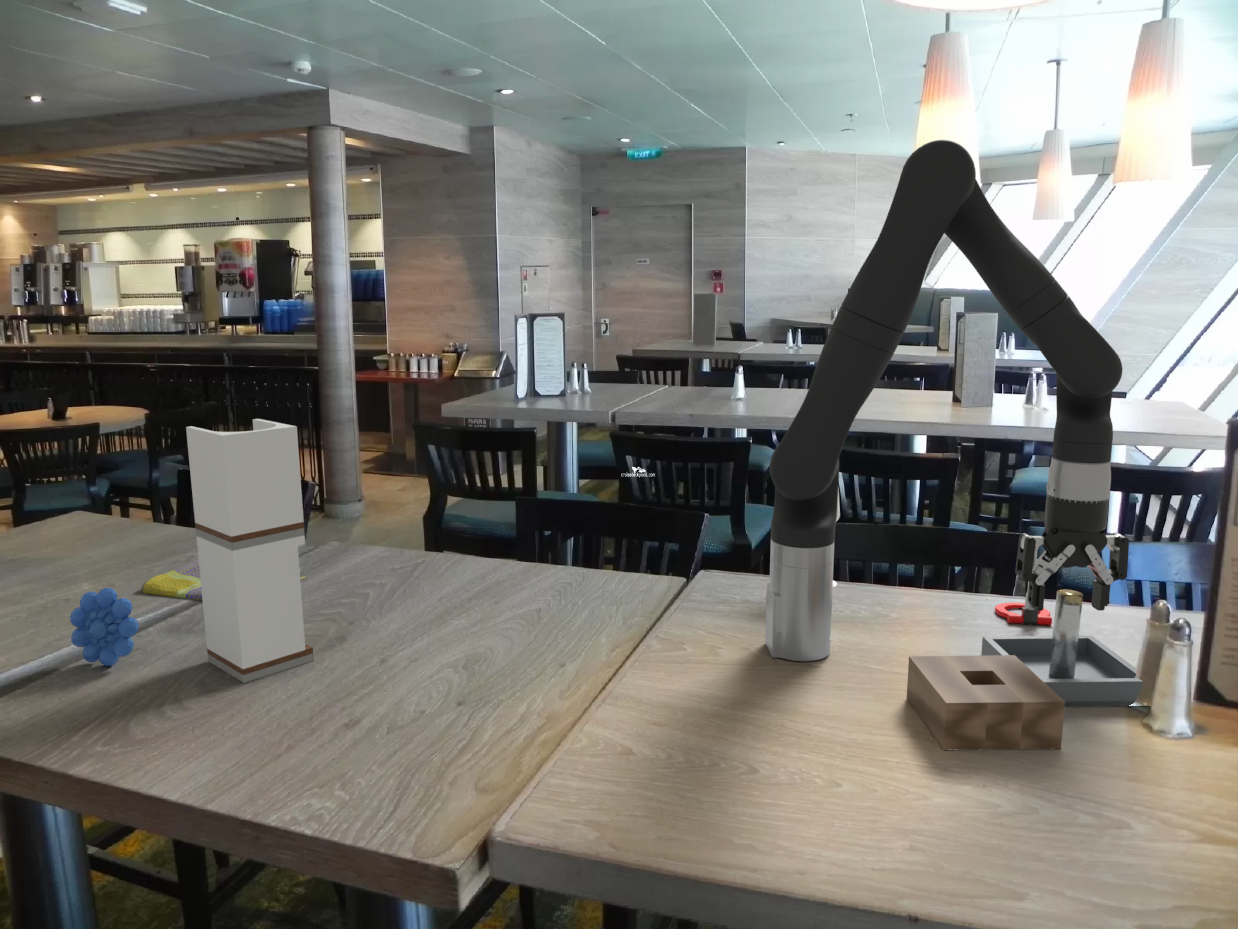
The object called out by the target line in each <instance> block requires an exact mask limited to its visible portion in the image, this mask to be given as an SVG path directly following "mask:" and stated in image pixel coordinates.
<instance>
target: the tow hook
mask: <svg viewBox="0 0 1238 929" xmlns="http://www.w3.org/2000/svg"><path fill="white" fill-rule="evenodd" d="M1037 556H1038V551H1036V552H1035V554H1034V562H1033V568H1034V566H1035V565H1036V564H1037V560H1038V558H1037ZM1028 589H1029V581H1027V590H1026V592H1025V602H1024V603H1023V602H1001V603H998V604H996V605H995V608H994V612H995V613H996V614H997V615H998V616H1000V617H1002V618H1006V621H1007V623H1008V624H1019V623H1023V624H1022V625H1027V624H1033V625H1032V626H1037V625H1038V624H1040V625H1041V626H1042V625H1043V626H1052V624H1053V618H1052V616H1051V612H1050V611H1049V610H1048V609H1047V608H1044V607H1043V610H1042V611H1036V610H1035V609H1034V608H1032V606H1031V605H1030V604H1029V602H1028ZM1013 608H1022V609H1021V614H1020V613H1016V612H1011V611H1010V610H1014V609H1013ZM1007 609H1009V610H1007ZM1038 613H1039V614H1038Z"/></svg>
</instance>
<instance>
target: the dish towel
mask: <svg viewBox="0 0 1238 929" xmlns="http://www.w3.org/2000/svg"><path fill="white" fill-rule="evenodd" d="M302 573H303V570H302V568H300V582H301V581H304V580H306V579H307V577H306V576H305V575H302ZM141 591H142V592H143V594H146V595H147V594H149V595H150V594H151V595H154V596H159V597H160V596H162V597H168V598H176V599H183V600H185V599H186V600H195V601H202V590H201V580H200V569H199V559H198V558H197V559H195V560H193V561H190V562H188V563H184V564H182V565H180V566H178V567H176V568H174V569H171V570H170V571H168V572H164V573H161V574H157V575H156V576H153V577H151V578H149V579H148V580H146V581H144V583H143V584H142V586H141Z"/></svg>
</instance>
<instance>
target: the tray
mask: <svg viewBox="0 0 1238 929" xmlns="http://www.w3.org/2000/svg"><path fill="white" fill-rule="evenodd" d="M1052 637H1053V635H1027V636H1026V635H1020V636H1019V635H1015V636H1014V635H1013V636H1012V635H1011V636H1008V635H1005V636H1004V635H1002V636H994V635H993V636H982V638H981V639H982V640H981V652H980V654H981V655H980V656H989V655H1015V656H1016V657H1017V658H1018V659H1019V660H1020V661H1022V662H1023V663H1024V664H1025V665H1026V666H1027V667H1028V668H1029V669H1030V670H1031V671H1032V672H1033V673H1035V674H1036V675H1037V676H1038V677H1039V678H1040V679H1041V680H1042V681H1043V682H1044V683H1045V684H1046V685H1048V686H1049V687H1050V688H1051V689H1052V690H1053V691H1054V692H1055V693H1056V694H1057V695H1058V696H1059V697H1061V698H1062V699H1063V700H1064V701H1065V708H1110V707H1113V708H1115V707H1116V708H1117V707H1125V708H1126V707H1128V706H1129V705H1131V704H1133V703H1134V702H1135V700H1136V699H1137V697H1138V696H1139V693H1140V690H1141V689H1142V688H1141V687H1142V684H1143V681H1142V680H1140V679H1138V678H1135V676H1136V668H1137V667H1135V666H1134V665H1132V664H1131V663H1130V662H1128V661H1127V660H1125V658H1123V657H1122V656H1120V655H1119V654H1117V652H1115V651H1114V650H1113V649H1111V648H1109V647H1108V646H1107V645H1105V644H1104V643H1102V642H1101V641H1100V640H1098V639H1097V638H1096V637H1095V636H1093V635H1079V638H1078V647H1077V657H1076V666H1075V675H1074V679H1054V678H1052V677H1051V676H1049V667H1050V657H1051V647H1052ZM1137 695H1138V696H1137Z"/></svg>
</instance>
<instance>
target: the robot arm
mask: <svg viewBox="0 0 1238 929" xmlns="http://www.w3.org/2000/svg"><path fill="white" fill-rule="evenodd" d="M976 174H977V173H976V166H975V162H974V160H973V158H972V156H971V154H970V153H969V151H968V150H967V149H966V148H965V147H964V146H963V145H961V144H960V143H958V142H956V141H955V140H954V141H953V140H949V139H936V140H932V141H929V142H927V143H924V144H922V145H921V146H919V147H918V148H917V149H916V150H914V151H913V152H912V153H911V154H910V155H909V157H908V158H907V159H906V161H905V163H904V164H903V167H902V170H901V173H900V176H899V180H898V183H897V187H896V189H895V193H894V195H893V198H892V202H891V204H890V207H889V210H888V212H887V215H886V218H885V221H884V224H883V225H882V228H881V230H880V233H879V235H878V238H876V241H875V243H874V245H873V246H872V249H871V250H870V252H869V254H868V256H867V257H866V258H865V260H864V262H863V263H862V265H861V267H860V268H859V271H858V272H857V274H856V276H855V277H854V279H853V281H852V283H851V285H850V288H849V289H848V292H847V293H846V295H845V297H844V299H843V301H842V303H841V306H840V307H839V308H838V311H837V313H836V316H835V319H834V321H833V322H832V325H831V327H830V329H829V331H828V333H827V334H828V335H827V337H826V340H825V342H824V344H823V347H822V350H821V352H820V355H819V357H818V360H817V363H816V365H815V369H814V372H813V374H812V379H811V381H810V384H809V387H808V390H807V391H806V392H807V393H806V395H805V397H804V400H803V402H802V404H801V405H800V407H799V410H798V411H797V413H796V415H795V417H794V418H793V420H792V422H791V424H790V426H789V427H788V429H787V430H786V432H785V434H784V436H783V437H782V438H781V441H780V442H779V443H778V444H777V446H776V447H775V449H774V450H773V452H772V455H771V457H770V461H769V462H770V464H769V472H770V477H771V481H772V482H773V485H774V505H773V511H772V517H771V522H770V553H769V554H770V556H769V557H770V558H769V560H770V562H769V583H767V584H766V596H765V597H766V598H765V599H766V600H765V601H766V602H765V606H766V607H765V639H764V643H765V646H766V647H767V650H768V652H769V654H770V656H771V658H778V659H785V660H789V661H795V662H813V661H819V660H822V659H824V658H827V657H828V656H829V655H830V654H831V642H832V637H831V636H832V612H833V611H832V610H833V588H834V587H833V580H834V561H835V560H834V559H835V536H836V526H837V522H836V518H837V502H838V488H839V481H840V479H839V478H840V476H839V475H840V456H841V452H842V451H843V448H844V444H845V441H846V440H847V437H848V434H849V432H850V429H851V427H852V425H853V423H854V421H855V418H856V416H857V415H858V413H859V412H860V409H862V407H863V405H864V403H866V401H867V400H868V398H869V396H870V395H871V393H872V392H873V390H874V389H875V387H876V386H877V384H878V382H879V381H880V379H881V378H882V376H883V374H884V372H885V370H886V369H887V367H888V365H889V364H890V362H891V360H892V358H893V356H894V354H895V352H896V350H897V348H898V346H899V344H900V342H901V340H902V338H903V336H904V332H906V329H907V327H908V325H909V323H910V319H911V317H912V315H913V312H914V309H915V306H916V304H917V301H918V298H919V295H920V292H921V288H922V285H923V282H924V279H925V275H926V272H927V269H928V267H929V265H930V262H931V259H932V257H933V254H934V252H935V250H936V248H937V247H938V245H939V243H940V241H941V240H942V238H943V236H944V235H945V236H946V237H947V238H949V239H950V241H951V242H952V244H954V245H955V246H956V247H957V248H958V249H959V251H960V252H961V253H962V254H963V255H964V257H965V258H966V259H967V260H968V262H969V263H970V264H971V265H972V267H973V268H974V269H975V271H976V272H977V274H978V275H979V277H980V278H981V279H982V281H983V282H984V284H985V285H986V286H987V288H988V290H989V291H990V292H991V294H992V295H993V296H994V298H995V299H996V301H997V302H998V303H999V304H1000V305H1001V307H1002V309H1003V310H1004V312H1005V313H1006V314H1007V315H1008V317H1009V318H1010V319H1011V320H1012V321H1013V322H1014V324H1015V325H1016V326H1017V327H1018V329H1019V330H1020V331H1021V332H1022V333H1023V335H1024V336H1025V337H1026V338H1027V339H1028V340H1029V341H1030V342H1032V344H1033V345H1035V346H1036V347H1037V349H1039V351H1040V353H1041V354H1042V356H1043V357H1044V358H1045V360H1046V361H1047V363H1048V364H1049V365H1050V367H1051V369H1053V371H1054V372H1055V373H1056V383H1055V384H1056V387H1055V389H1056V393H1055V394H1056V397H1055V398H1056V399H1055V400H1056V420H1055V425H1054V431H1053V440H1052V441H1053V442H1052V453H1051V454H1052V455H1051V461H1050V466H1049V470H1048V476H1047V482H1046V497H1045V498H1046V499H1045V510H1044V531H1043V532H1042V534H1041V535H1029V534H1027V533H1026V532H1024V533H1021V534H1019V536H1018V544H1017V554H1016V563H1015V570H1014V574H1016V576H1018V577H1019V578H1021V579H1022V580H1024V581H1026V582H1028V581H1029V589H1028V588H1027V591H1028V602H1029V604H1030V605H1031V606H1032V608H1034V609H1035V610H1036V611H1042V610H1043V608H1044V602H1045V592H1046V591H1045V590H1046V585H1045V583H1046V581H1047V580H1048V579H1049V578H1050V576H1052V575H1054V574H1055V573H1057V571H1058V570H1059V569H1060V567H1062V568H1063V569H1067V568H1069V569H1070V568H1072V567H1073V568H1074V567H1077V568H1087V567H1088V569H1089V570H1091V572H1092V574H1093V575H1094V577H1095V578H1096V580H1095V579H1094V580H1093V583H1092V595H1091V606H1092V608H1093V609H1095V610H1096V611H1098V612H1099V611H1105V609H1106V607H1108V605H1109V603H1110V594H1111V585H1112V584H1113V583H1114V582H1116V581H1119V580H1120V581H1124V580H1126V579H1127V577H1128V566H1129V549H1130V539H1129V537H1127V536H1125V535H1122V534H1121V533H1118V532H1112V533H1111V535H1110V534H1108V535H1107V534H1106V531H1105V530H1106V528H1107V524H1108V515H1109V514H1108V513H1109V506H1110V505H1109V502H1110V493H1111V484H1112V468H1111V460H1112V450H1113V440H1114V428H1113V422H1112V418H1111V407H1112V399H1113V398H1112V397H1113V391H1114V390H1115V389H1116V388H1117V386H1118V385H1119V384H1120V382H1121V379H1122V376H1123V364H1122V360H1121V358H1120V356H1119V354H1118V353H1117V352H1116V350H1115V349H1114V348H1113V346H1111V345H1110V344H1109V342H1108V341H1107V340H1106V339H1105V338H1104V337H1103V336H1102V334H1101V333H1100V332H1099V331H1097V329H1096V328H1095V327H1094V326H1093V325H1092V324H1091V323H1090V322H1089V321H1088V320H1087V319H1086V318H1085V317H1084V316H1083V315H1082V313H1081V312H1080V310H1079V309H1078V307H1077V306H1076V304H1075V303H1074V301H1073V299H1072V298H1071V297H1070V296H1069V294H1068V293H1067V291H1065V289H1064V288H1063V287H1062V286H1061V284H1060V283H1059V282H1058V281H1057V279H1056V278H1055V277H1054V276H1053V274H1052V273H1051V272H1050V271H1049V270H1048V269H1047V268H1046V266H1045V265H1044V264H1043V263H1042V262H1041V261H1040V260H1039V259H1038V258H1037V257H1036V256H1035V254H1034V253H1032V252H1031V250H1030V249H1029V248H1028V247H1026V245H1025V244H1024V243H1022V242H1021V240H1020V239H1019V238H1018V237H1017V236H1016V235H1015V234H1013V232H1012V231H1011V230H1010V229H1009V228H1008V227H1007V225H1006V224H1005V223H1004V222H1003V220H1001V218H1000V217H999V215H998V214H997V213H996V212H995V209H994V208H993V206H991V204H990V202H989V201H988V199H987V197H986V196H985V194H984V191H983V190H982V188H981V186H980V185H979V183H978V181H977V179H976ZM1040 546H1041V547H1042V548H1043V549H1044V551H1043V552H1042V554H1041V555H1040V556H1039V557H1038V558H1037V559H1038V560H1037V564H1036V565H1035V566H1034V568H1033V562H1034V554H1035V552H1036V551H1037V552H1038V551H1039V548H1040ZM1105 547H1107V549H1108V550H1109V561H1108V564H1109V565H1108V566H1107V565H1106V564H1105V562H1104V561H1103V559H1102V558H1101V556H1100V554H1101V552H1102V551H1103V550H1104V549H1105Z"/></svg>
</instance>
